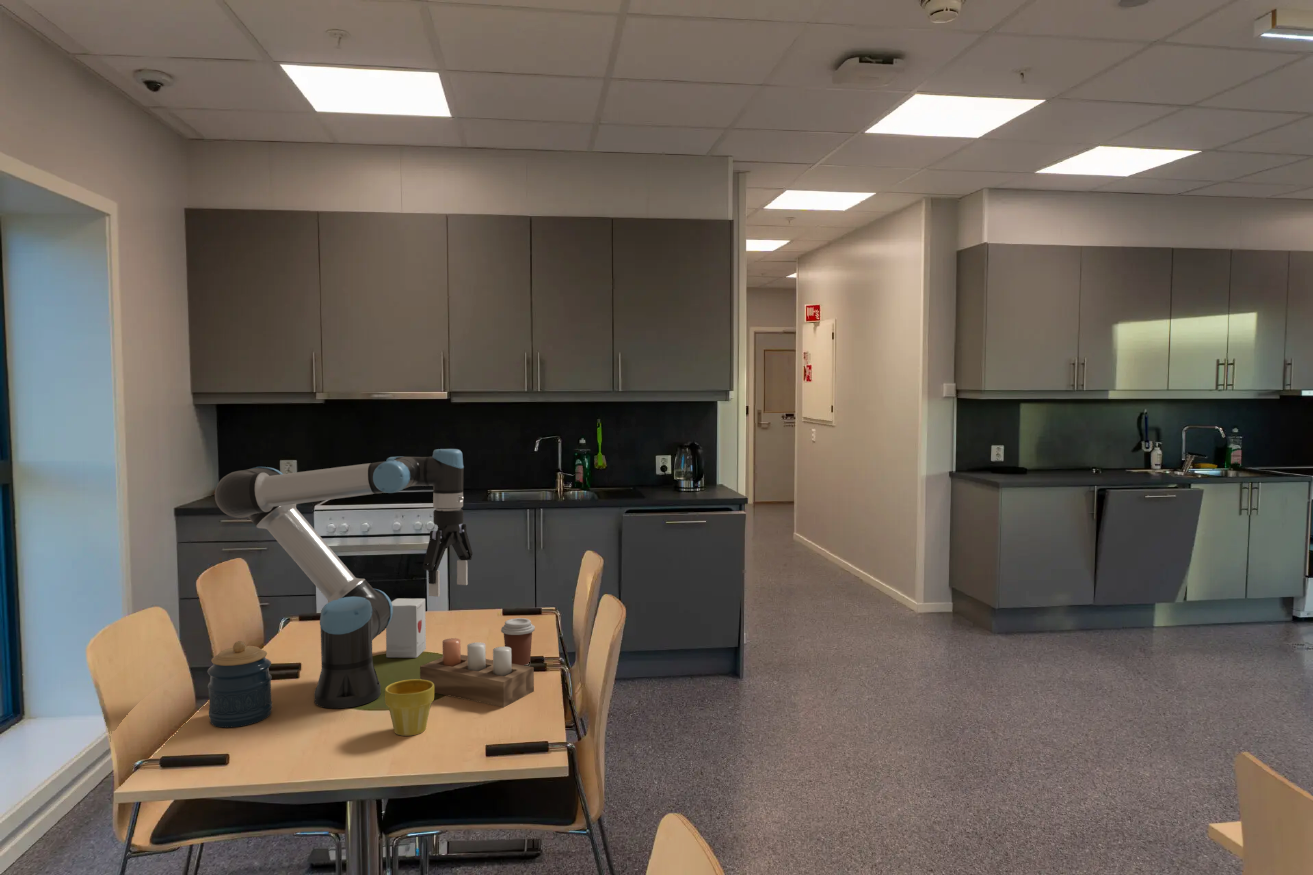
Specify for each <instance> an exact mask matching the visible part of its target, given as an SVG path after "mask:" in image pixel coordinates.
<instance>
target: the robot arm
mask: <svg viewBox="0 0 1313 875" xmlns="http://www.w3.org/2000/svg"><path fill="white" fill-rule="evenodd" d="M464 468H465V466H464V458H463V452H462V451H461V449H458V448H440V449H439V448H438V449H434V450H433V452H432V456H403V455H402V456H400V455H399V456H390V457H387V458H386V461H385V460H384V461H377V462H372V463H371V462H370V463H362V464H353V465H346V466H336V467H331V468H329V467H328V468H323V469H322V468H321V469H314V470H306V471H298V472H289V473H283V472H281V471H280V470H279V469H276V468H274V467H268V466H267V467H266V466H256V467H252V468H249V469H243V470H236V471H232V472H230V473H228V474H226V475H225V476H223V477H222V478H221V479H220V480H219V482H217V484H216V488H215V490H214V500H215V503H216V505H217V507H218V508H219V510H220V511H221V512H223V513H224V514H226V515H227V516H229V517H232V518H235V519H240V518H241V519H243V518H248V519H249V520H250V521H251V523H252V524H253V525H255V527H256V528H257V529H264V530H267V531H268V532H269V534H270V535H271V536H272V537H273V538H274V539H275V540H276V542H277V543H278V544H279V545H280V546H281V547H282V549H283V550H285V552H286V553H287V555H289V557H291V559H292V560H293V562H295V563H296V564H297V566H298V567H299V568H300V570H301V571H302V572H304V574H305V575H306V577H308V578H309V580H310V581H311V583H313V584H314V585H315V587H316V588H317V590H319V592H320V593H321V594H322V595H323V596H324V597H325V599H326V600H327V603H326V604H324V605H323V607H322V608H321V611H320V618H319V627H320V649H321V650H320V651H321V652H320V655H321V656H320V657H321V660H320V661H321V671H320V674H319V677H318V682H317V685H316V688H315V689H314V693H313V694H314V698H313V699H314V704H315V705H316V706H318V707H320V708H325V709H347V708H355V707H358V706H363V705H366V704H369V703H372V702H373V701H375V700H377V699H378V698H379V697H380V696H381V694H382V693H381V683H380V680H379V678H378V675H377V671H376V669H375V666H374V662H373V640H374V639H376V638H377V636H379V635H380V634H382V633H383V632H384V631H386V627H387V626H388V624H389V623H390V621H391V618H392V614H393V606H392V603H391V602H392V600H391V599H390V597H389V596H388V595H387V594H386V593H385V592H384V591H382V590H380V589H377V588H373V587H372V585H370V583H369V582H368V581H367V580H366V579H365V578H359V577H356V576H355V575H354V574H353V572H352V571H351V570H349V568H348V567H347V565H346V564H344V562H343V561H342V560H341V559H340V558H339V556H338V555H337V554H336V553H335V552H334V551H333V550H332V548H331V547H330V546H329V544H327V542H326V541H325V540H324V539H323V537H321V536H320V534H319V533H318V532H317V530H316V529H315V528H314V527H313V526H312V525H311V524H310V522H309V521H308V520H307V519H306V518H305V517H304V516H303V514H302V512H300V511H299V509H297V505H299V504H305V503H313V502H320V501H326V500H335V499H345V498H353V497H359V496H367V495H373V494H382V493H383V494H384V493H385V494H386V493H388V494H394V493H399V492H401V491H402V490H404V489H407V488H409V487H421V486H422V487H424V486H425V487H428V486H429V487H431V486H432V488H433V489H432V490H433V492H432V493H433V497H432V500H433V501H432V502H433V503H432V505H433V506H432V508H434V510H433V512H432V514H433V519H432V520H433V524H434V525H436V526H437V530H430V532H429V540H428V544H427V549H426V553H425V556H424V559H423V564H422V570H423V571H427V572H428V573H427V574H428V581H427V582H428V597H440V596H441V585H440V584H441V581H440V580H441V578H440V577H441V573H440V572H441V570H439V567H440V564H441V561H442V560H443V557H444V555H445V551H446V549H448V548H449V547H450V546H452V548H453V550H454V552H455V554H456V556H457V558H458V559H457V561H456V584H457V585H458V586H459V585H460V586H467V585H468V584H469V582H468V579H469V578H468V570H469V569H468V566H469V565H468V561H471V560H472V557H473V551H472V547H471V543H470V540H469V536H468V533H467V532H468V531H467V525H466V523H464V510H463V509H462V508H463V507H464Z"/></svg>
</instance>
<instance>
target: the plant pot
mask: <svg viewBox="0 0 1313 875" xmlns="http://www.w3.org/2000/svg"><path fill="white" fill-rule="evenodd" d="M434 699H435V693H434V684H433V683H432V682H431V681H428V680H422V679H420V678H415V679H414V678H411V679H404V680H399V681H396V682H392V683H390V684H387V686H386V687H385V688H384V703H385V706H386V707H388V710H389V715H390V718H391V719H390V720H391V723H392V728H393V731H394V733H395V735H398V736H403V737H410V736H411V737H412V736H416V735H419V734H421V733H423V732H425V730H426V729H427V724H428V718H429V714H430V710H431V705H432V704H433V701H434Z"/></svg>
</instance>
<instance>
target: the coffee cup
mask: <svg viewBox="0 0 1313 875" xmlns="http://www.w3.org/2000/svg"><path fill="white" fill-rule="evenodd" d="M535 628H536V626H535V625H534V624H532V621H531V619H529V618H523V617H518V618H517V617H516V618H510V619H507V620H505V622H504V625H503V626H501V629H500V631H501V633H502V634H503V641H504V647H510V648H511V663H512V664H518V665H523V666H524V665H528V664H529V662H530V663H531V655H532V654H531V653H532V639H533V632H535Z"/></svg>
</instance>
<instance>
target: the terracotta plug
mask: <svg viewBox="0 0 1313 875" xmlns="http://www.w3.org/2000/svg"><path fill="white" fill-rule="evenodd" d="M461 655H462V653H461V639H460V638H456V637H455V638H452V637H451V638H447V639H446V638H445V639H444V640H442V657H443V665H446V666H451V667H454V666H456V665H458V664H461Z"/></svg>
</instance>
